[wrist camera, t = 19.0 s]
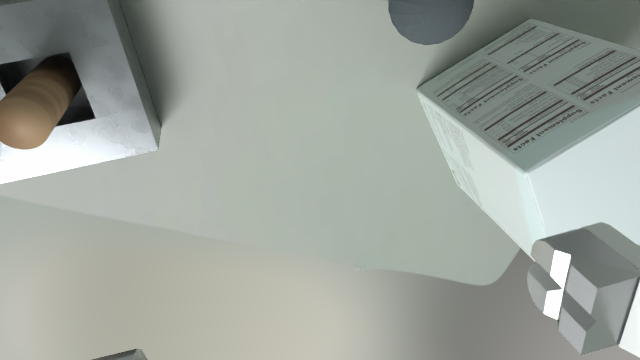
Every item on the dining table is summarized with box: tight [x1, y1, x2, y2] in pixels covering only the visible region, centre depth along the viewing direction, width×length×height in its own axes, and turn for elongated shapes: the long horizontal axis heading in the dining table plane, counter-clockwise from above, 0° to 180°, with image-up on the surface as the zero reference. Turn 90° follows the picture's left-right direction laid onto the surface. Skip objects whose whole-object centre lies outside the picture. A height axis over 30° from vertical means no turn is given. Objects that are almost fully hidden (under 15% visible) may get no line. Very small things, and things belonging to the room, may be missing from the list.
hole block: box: [0, 0, 161, 184], centre depth 35 cm, size 12×12×4 cm
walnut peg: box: [0, 56, 82, 150], centre depth 32 cm, size 3×3×10 cm
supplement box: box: [416, 18, 640, 262], centre depth 40 cm, size 13×13×18 cm
